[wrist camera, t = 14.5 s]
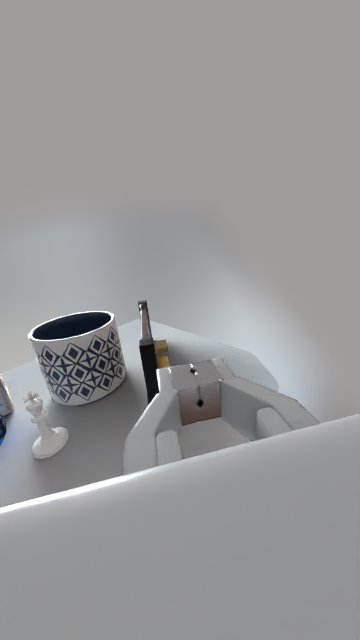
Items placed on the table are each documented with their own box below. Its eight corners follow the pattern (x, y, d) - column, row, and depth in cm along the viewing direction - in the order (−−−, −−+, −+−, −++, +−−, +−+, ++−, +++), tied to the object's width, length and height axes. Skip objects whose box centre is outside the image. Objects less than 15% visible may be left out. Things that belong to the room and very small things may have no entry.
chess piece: (30, 444, 32) (5, 394, 28) (63, 424, 35) (44, 377, 31) (36, 466, 28) (9, 412, 25) (73, 442, 31) (53, 391, 28)
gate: (145, 341, 60) (138, 303, 56) (151, 340, 61) (146, 302, 56) (148, 393, 39) (138, 338, 34) (158, 391, 39) (150, 336, 35)
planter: (111, 355, 56) (99, 306, 51) (138, 380, 44) (127, 321, 39) (46, 381, 47) (24, 325, 42) (59, 422, 35) (31, 351, 30)
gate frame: (143, 341, 63) (137, 301, 58) (159, 338, 64) (153, 299, 59) (148, 410, 36) (137, 347, 32) (175, 404, 37) (167, 342, 32)
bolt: (154, 369, 33) (151, 347, 32) (173, 366, 34) (170, 344, 32) (162, 421, 23) (157, 392, 22) (188, 415, 24) (186, 387, 22)
